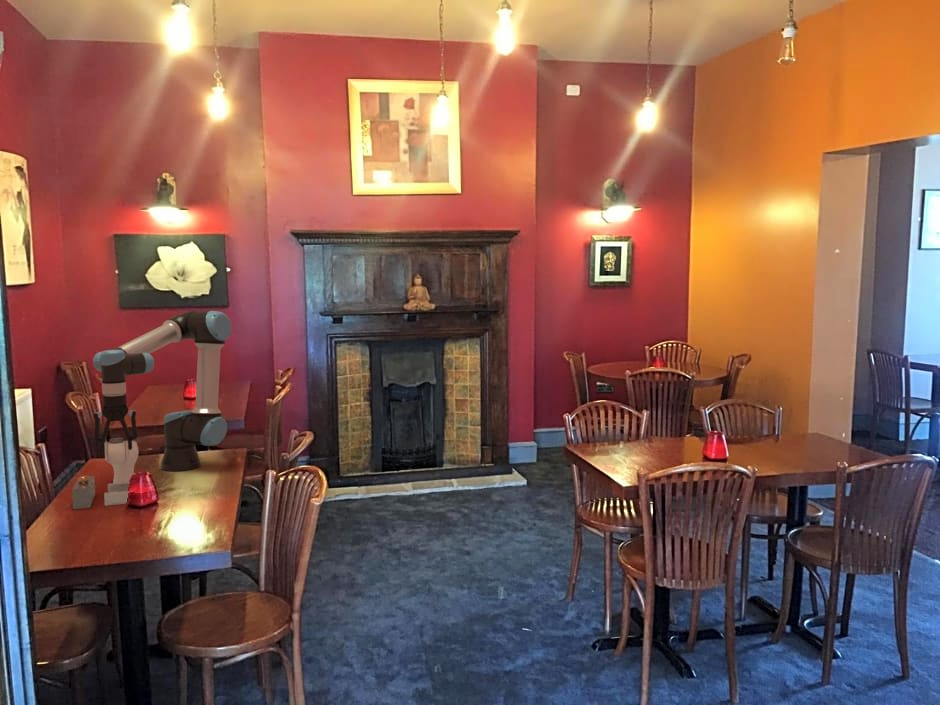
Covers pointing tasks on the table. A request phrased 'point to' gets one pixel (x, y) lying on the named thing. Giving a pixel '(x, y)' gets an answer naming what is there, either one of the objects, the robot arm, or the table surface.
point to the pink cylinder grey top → (116, 451)
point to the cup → (126, 466)
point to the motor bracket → (86, 493)
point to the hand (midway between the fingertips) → (117, 459)
